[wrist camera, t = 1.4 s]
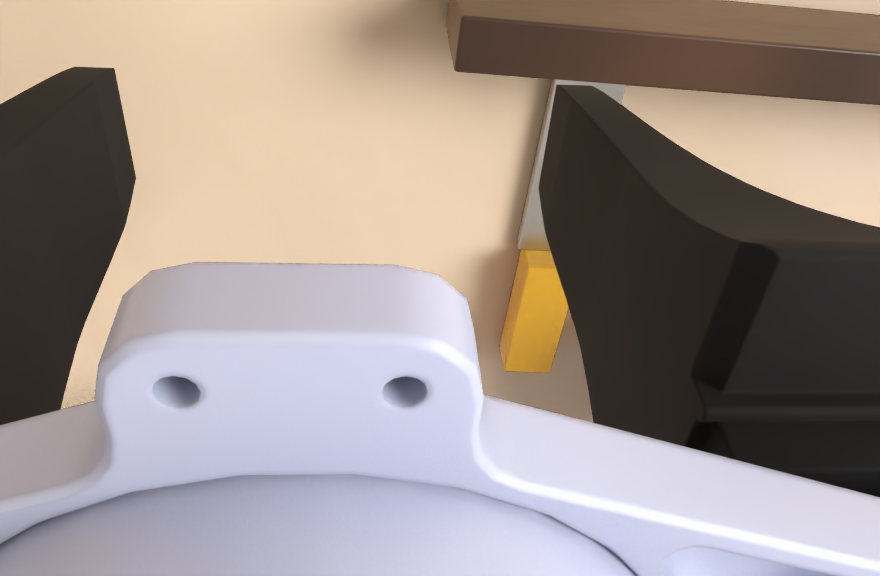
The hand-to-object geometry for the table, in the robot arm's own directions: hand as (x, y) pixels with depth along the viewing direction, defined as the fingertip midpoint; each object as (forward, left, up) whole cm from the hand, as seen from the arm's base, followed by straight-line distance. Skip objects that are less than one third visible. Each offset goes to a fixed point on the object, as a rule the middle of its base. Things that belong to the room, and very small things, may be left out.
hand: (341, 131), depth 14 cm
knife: (-11, -3, -10) cm, 15 cm away
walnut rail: (-7, -12, -10) cm, 17 cm away
